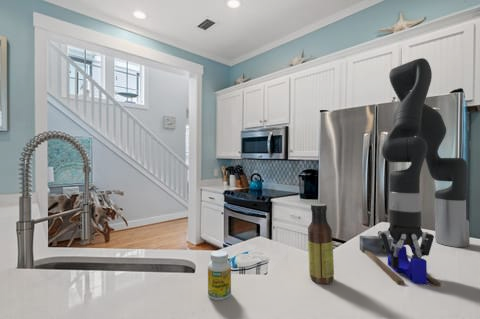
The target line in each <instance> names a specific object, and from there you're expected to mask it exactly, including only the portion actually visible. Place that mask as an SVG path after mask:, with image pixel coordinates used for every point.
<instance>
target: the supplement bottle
mask: <svg viewBox="0 0 480 319" xmlns="http://www.w3.org/2000/svg"><path fill="white" fill-rule="evenodd" d="M228 259H229V253H228V252H227V251H225V250H214V251H212V252H211V253H210V262H209V263H208V265H207V295H208V296H207V297H208V298H209V299H211V300H213V301H222V300H226V299H228V298H229V297H230V296H231V293H232V264H231V262H230V261H229V260H228Z"/></svg>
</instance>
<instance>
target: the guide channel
mask: <svg viewBox="0 0 480 319" xmlns="http://www.w3.org/2000/svg"><path fill="white" fill-rule="evenodd" d="M392 239H393V238H392V237H391V236H389V239H387V240H388V243H389V246H390V248H391V242H392ZM359 250H360V251H361V252H362V253H364V254H365V255H366V256H367V257H368V258H370V260H371V261H372V262H374V263H375V264H376V266H378V267H379V269H380V270H382V271H383V272H384V273H385V274H387V276H388V277H389V278H391V279H392V281H394V282H395V283H396V284H397V285H402V286H403V285H405V280H404V279H403V278H401V276H400V275H398V273H396V272H395V271H394V270H393V269H392V268H391V267H390V266H389V265H388V264H386V263H385V262H384V261H382V260H381V259H380V258H379V257H377V256H376V255H375V254H387V253H386V252H385V251H383V248H382V245H381V242H380V239H379V235H377V236H376V235H359ZM387 255H388V254H387ZM409 262H410V260H409ZM427 283H429V284H430V285H431V286H433V287H436V288H441V287H442V284H441V282H440V281H439V280H437V279H436V278H435V277H433V276H432V275H430V274H429V273H427Z"/></svg>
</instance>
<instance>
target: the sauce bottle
mask: <svg viewBox="0 0 480 319" xmlns="http://www.w3.org/2000/svg"><path fill="white" fill-rule="evenodd" d="M327 206H328V205H327V204H326V203H319V202H318V203H311V204H310V209H311V222H310V224H309V226H308V227H307V235H308V236H307V238H308V239H307V244H308V246H307V247H308V270H309V271H308V272H309V278H310V279H311V281H312V282H314V283H318V284H320V285H329V284H333V282H334V279H335V277H334V275H335V270H334V269H335V268H334V267H335V265H334V248H333V245H334V243H333V242H334V241H333V235H332V234H333V230H332V228H331V227H330V225H329V222H328V218H327V210H328V207H327Z"/></svg>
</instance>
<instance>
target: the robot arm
mask: <svg viewBox="0 0 480 319" xmlns="http://www.w3.org/2000/svg"><path fill="white" fill-rule="evenodd" d="M432 74H433V73H432V68H431V65H430V63H429V61H428V60H427V59H426V58H424V57H422V58H421V57H420V58H417V59H414V60H411V61H408V62H405V63H404V64H401V65H398V66H396V67H393V68H392V69H391V70H389V75H388V76H389V83H390V85H391V87H392V89H393V91H394V93H395V94H396V96H397V98H398V99H399V101H400V103H399V105H398V106H397V107H396V109H395V112H394V115H393V116H394V117H393V120H392V121H393V122H392V128H391V130H390V131H389V134H388V135H387V136H386V139H385V140H384V142H383V144H382V148H381V153H382V154H381V155H382V157H383V159H384V160H385V161H387V162H389V163H410V165H409V167H407V168H405V169H400V170H395V171H392V172H390V175H389V198H388V200H389V201H388V206H389V207H388V211H389V212H388V215H389V217H388V218H389V221H388V222H389V227H388V229H387V230H384V231H382V230H379V231H377V232H378V233H377V236H379V239H380V242H381V245H382V248H383V251H385V252H386V253H387V255H390V259H391V266H392V267H393V268H394V269H395V270H399V257H398V254H399V251H400V250H401V249H402V246H409V248H410V251H411V253H412V254H411V258H422V257H424V256H426V257H428V256H429V255H430V252H431V249H432V246H433V242H434V238H435V242H436V243H438V244H440V245H443V246H444V245H445V246H448V247H453V248H454V247H456V248H465V247H470V221H469V220H468V219H467V190H468V189H467V187H468V186H467V185H468V184H467V182H468V181H467V180H468V163H467V161H466V160H465V159H464V158H463V157H440V156H439V148H440V146H441V144H442V142H443V140H444V139H445V137H446V134H447V127H446V124H445V122H444V119H443V116H442V115H441V113H440V112H439V111H437V110H436V109H435V108H433V107H431V106H430V105H427V104H425V101H426V99H427V96H428V92H429V89H430V86H431V83H432ZM424 161H425V162H426V165H427V169H428V172H429V174H430V176H431V179H432V180H434V181H438V182H451V185H450V186H449V187H447V188H443V189H438V190H435V192H434V215H435V216H434V223H435V225H434V230H435V231H434V232H435V236H434V234H432V233H429V232H426V231H425V232H424V231H423V230H422V199H421V192H420V191H421V190H420V189H421V187H420V186H421V185H420V184H421V182H420V181H421V179H420V178H421V171H422V168H423V165H424ZM389 237H392V238H393V239H392V242H391V248H390V246H389V243H388V240H387V239H389ZM420 239H421V243H420V244H419V240H420Z"/></svg>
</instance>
